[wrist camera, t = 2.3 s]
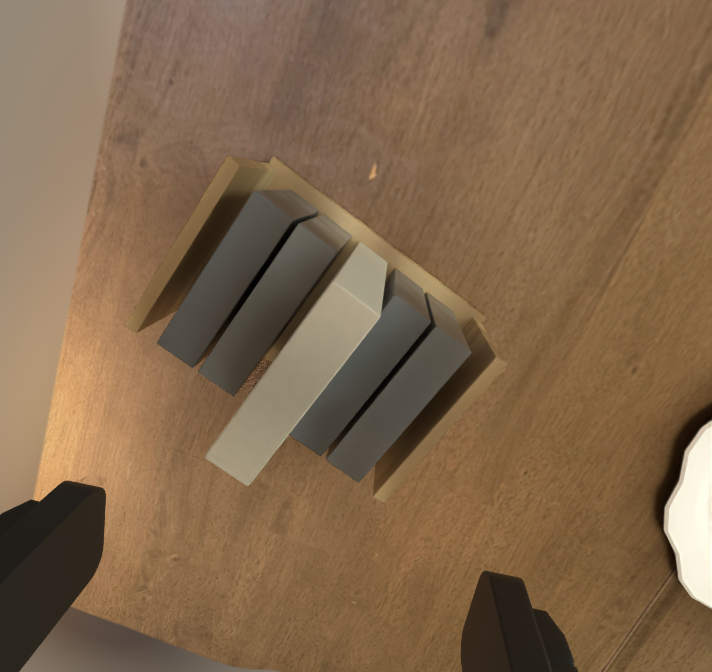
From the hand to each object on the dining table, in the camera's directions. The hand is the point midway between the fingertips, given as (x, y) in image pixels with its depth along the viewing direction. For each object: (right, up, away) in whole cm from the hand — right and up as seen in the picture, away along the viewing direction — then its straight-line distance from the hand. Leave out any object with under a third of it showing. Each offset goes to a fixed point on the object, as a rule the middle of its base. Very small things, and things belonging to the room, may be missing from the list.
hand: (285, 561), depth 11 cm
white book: (0, +7, +25) cm, 26 cm away
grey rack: (0, +7, +26) cm, 27 cm away
